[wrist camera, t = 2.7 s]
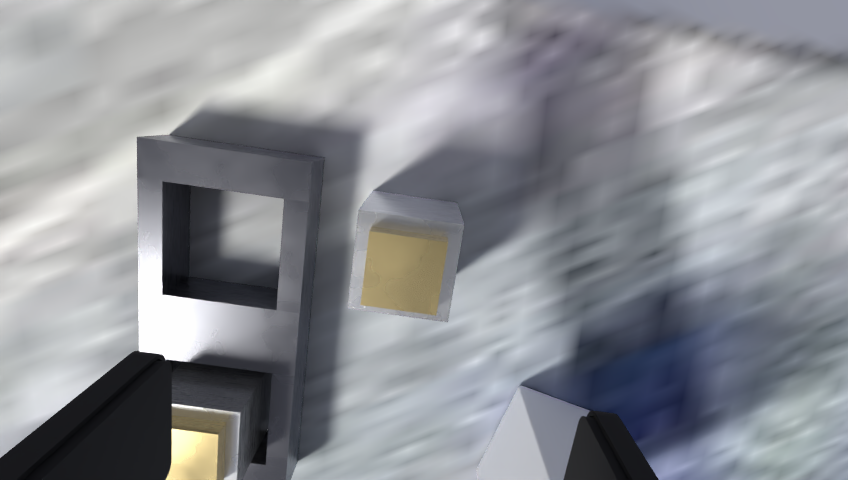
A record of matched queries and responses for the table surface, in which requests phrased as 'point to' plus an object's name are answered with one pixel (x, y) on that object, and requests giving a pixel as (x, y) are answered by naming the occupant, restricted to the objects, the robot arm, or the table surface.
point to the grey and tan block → (406, 256)
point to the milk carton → (532, 439)
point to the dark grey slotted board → (222, 301)
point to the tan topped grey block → (217, 420)
